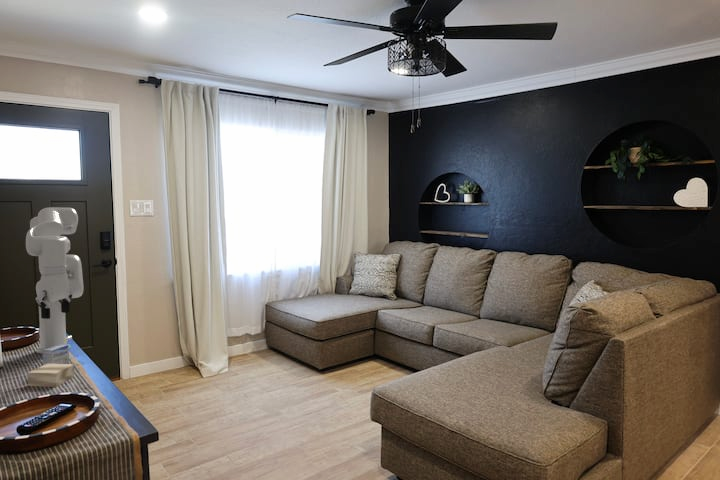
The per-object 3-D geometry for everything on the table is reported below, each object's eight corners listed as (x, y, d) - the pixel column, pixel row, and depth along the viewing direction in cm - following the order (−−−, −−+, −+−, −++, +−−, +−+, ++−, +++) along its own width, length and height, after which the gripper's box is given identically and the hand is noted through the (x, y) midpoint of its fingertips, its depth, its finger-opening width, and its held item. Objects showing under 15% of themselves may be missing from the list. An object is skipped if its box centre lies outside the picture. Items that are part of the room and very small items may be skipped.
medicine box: (52, 373, 179) (52, 350, 179) (42, 372, 180) (42, 349, 180) (69, 366, 187) (68, 344, 186) (59, 365, 188) (59, 344, 187)
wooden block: (48, 376, 177) (47, 363, 176) (74, 377, 176) (74, 364, 176) (28, 386, 167) (27, 372, 166) (56, 387, 166) (55, 373, 166)
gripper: (63, 267, 188) (64, 309, 189) (26, 273, 171) (28, 320, 172) (80, 268, 187) (81, 310, 188) (45, 274, 170) (46, 321, 171)
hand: (55, 315), depth 180 cm, fingers open, 9 cm apart
